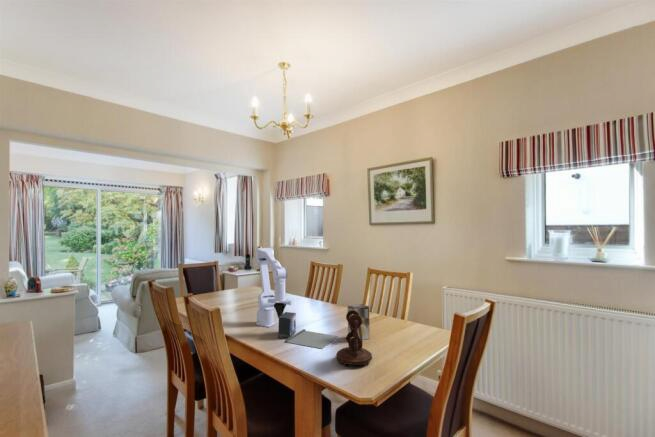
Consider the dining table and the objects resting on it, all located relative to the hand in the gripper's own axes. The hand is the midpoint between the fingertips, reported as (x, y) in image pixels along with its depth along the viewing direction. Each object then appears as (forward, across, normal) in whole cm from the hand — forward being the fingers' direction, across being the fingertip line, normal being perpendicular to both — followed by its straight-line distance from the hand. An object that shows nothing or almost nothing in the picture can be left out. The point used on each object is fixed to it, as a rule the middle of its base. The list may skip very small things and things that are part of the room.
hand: (280, 317), depth 163 cm
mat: (+8, +19, 0) cm, 21 cm away
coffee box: (+9, +40, +11) cm, 42 cm away
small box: (+9, +4, 0) cm, 10 cm away
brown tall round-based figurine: (+9, +47, -14) cm, 49 cm away
